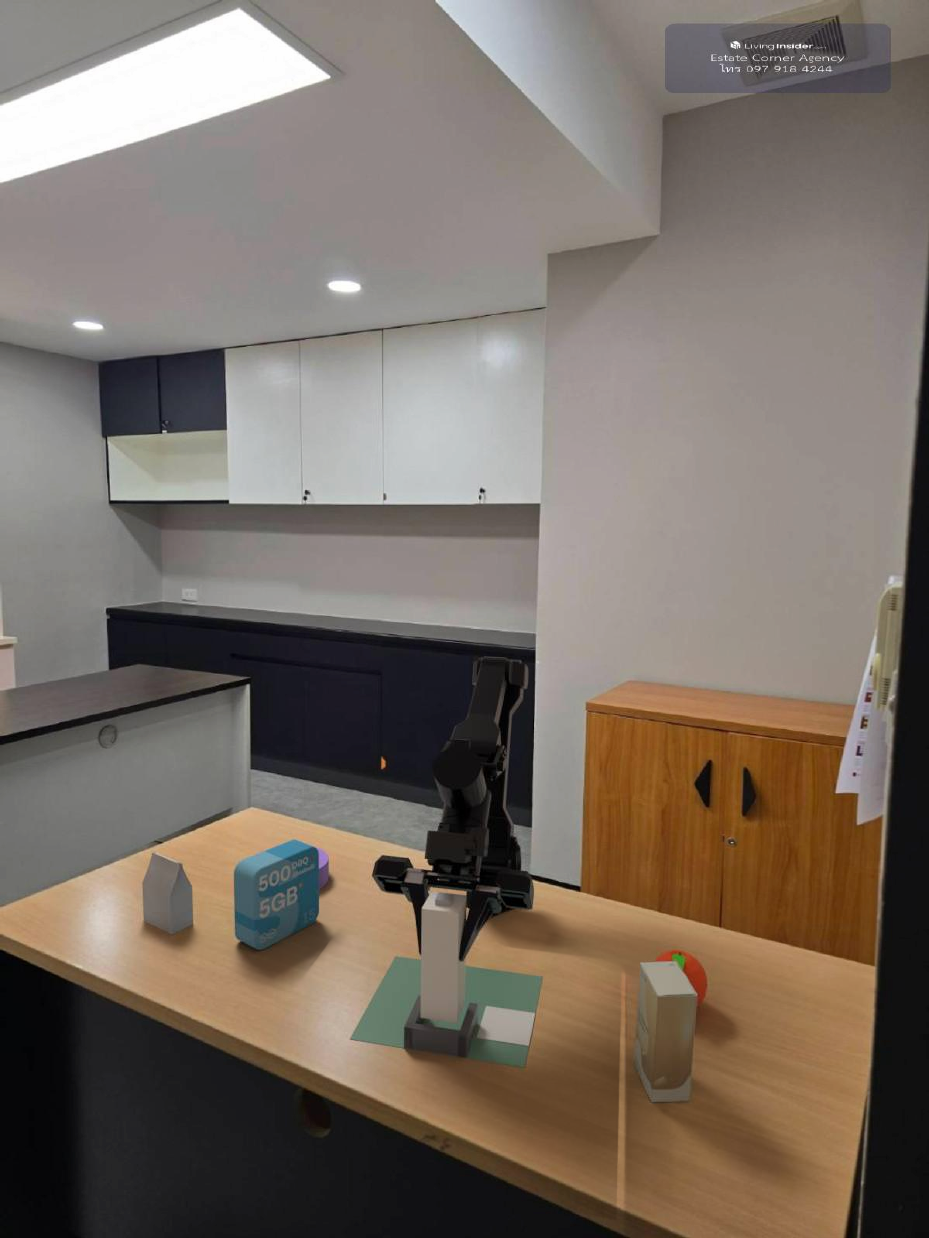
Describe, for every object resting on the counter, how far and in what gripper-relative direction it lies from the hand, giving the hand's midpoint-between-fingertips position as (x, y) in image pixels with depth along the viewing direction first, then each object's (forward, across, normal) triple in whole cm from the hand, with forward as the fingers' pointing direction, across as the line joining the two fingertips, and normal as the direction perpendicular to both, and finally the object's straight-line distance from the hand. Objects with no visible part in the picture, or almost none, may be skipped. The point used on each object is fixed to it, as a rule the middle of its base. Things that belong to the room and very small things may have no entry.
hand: (440, 957), depth 86 cm
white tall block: (+4, 0, +6) cm, 7 cm away
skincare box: (+8, +24, +8) cm, 27 cm away
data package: (-5, -29, +21) cm, 36 cm away
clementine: (-2, +27, +18) cm, 32 cm away
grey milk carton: (-4, -46, +20) cm, 50 cm away
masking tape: (-16, -34, +33) cm, 50 cm away
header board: (+3, 0, +12) cm, 13 cm away
